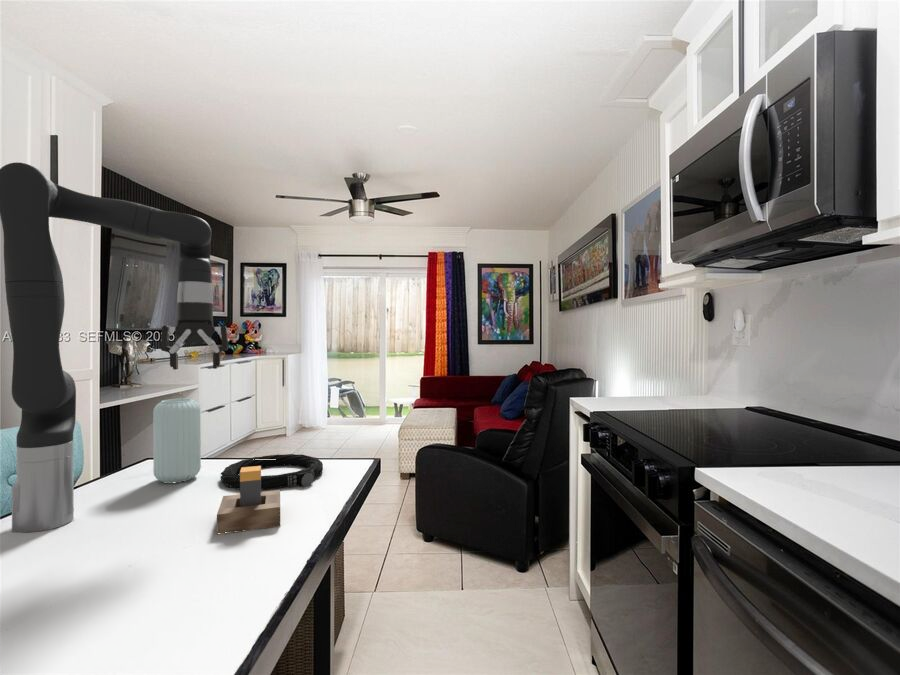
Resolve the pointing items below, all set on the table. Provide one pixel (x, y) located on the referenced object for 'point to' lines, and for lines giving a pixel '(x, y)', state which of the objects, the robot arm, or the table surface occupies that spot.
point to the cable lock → (276, 481)
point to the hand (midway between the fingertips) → (195, 368)
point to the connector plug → (250, 486)
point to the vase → (176, 440)
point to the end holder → (248, 513)
